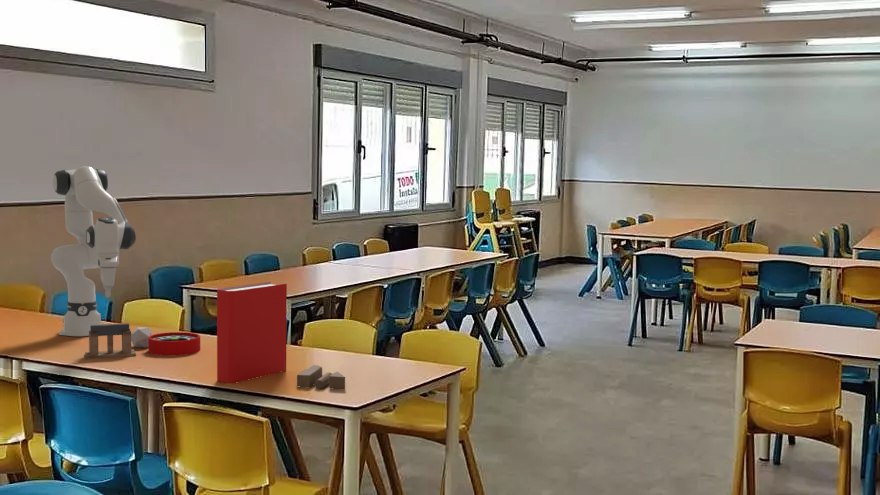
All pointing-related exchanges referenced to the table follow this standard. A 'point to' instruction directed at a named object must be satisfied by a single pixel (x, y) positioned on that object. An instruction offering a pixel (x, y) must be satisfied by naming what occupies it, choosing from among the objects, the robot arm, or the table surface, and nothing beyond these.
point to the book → (251, 331)
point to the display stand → (109, 347)
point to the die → (140, 337)
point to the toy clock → (174, 343)
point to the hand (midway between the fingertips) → (107, 295)
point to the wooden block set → (320, 378)
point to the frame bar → (109, 329)
